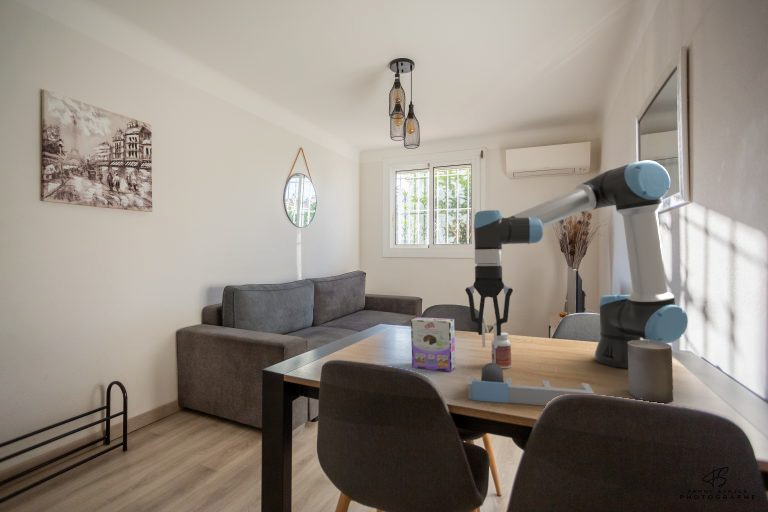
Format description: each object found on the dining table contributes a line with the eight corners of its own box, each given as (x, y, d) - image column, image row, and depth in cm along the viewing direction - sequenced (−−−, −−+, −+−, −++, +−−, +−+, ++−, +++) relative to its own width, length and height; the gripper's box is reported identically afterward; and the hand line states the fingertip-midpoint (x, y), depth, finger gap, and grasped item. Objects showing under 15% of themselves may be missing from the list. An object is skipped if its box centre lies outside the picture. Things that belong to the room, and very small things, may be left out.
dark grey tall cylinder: (479, 379, 113) (484, 360, 113) (500, 385, 112) (505, 366, 111) (478, 394, 102) (483, 373, 101) (501, 401, 100) (506, 380, 99)
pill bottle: (515, 366, 126) (514, 333, 126) (502, 370, 123) (502, 336, 123) (500, 362, 132) (499, 330, 132) (488, 365, 128) (487, 333, 128)
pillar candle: (679, 396, 99) (677, 339, 99) (664, 406, 93) (663, 345, 93) (637, 386, 107) (636, 333, 107) (621, 394, 101) (620, 338, 101)
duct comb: (588, 398, 99) (587, 379, 98) (595, 410, 91) (595, 389, 91) (470, 389, 107) (469, 371, 107) (468, 399, 100) (468, 380, 100)
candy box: (455, 367, 127) (455, 318, 127) (451, 372, 122) (450, 321, 122) (417, 362, 133) (416, 316, 133) (411, 367, 128) (410, 319, 128)
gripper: (516, 264, 110) (517, 344, 110) (461, 264, 114) (463, 342, 115) (518, 265, 103) (519, 351, 103) (459, 265, 107) (461, 348, 107)
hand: (489, 346), depth 109 cm, fingers open, 3 cm apart
